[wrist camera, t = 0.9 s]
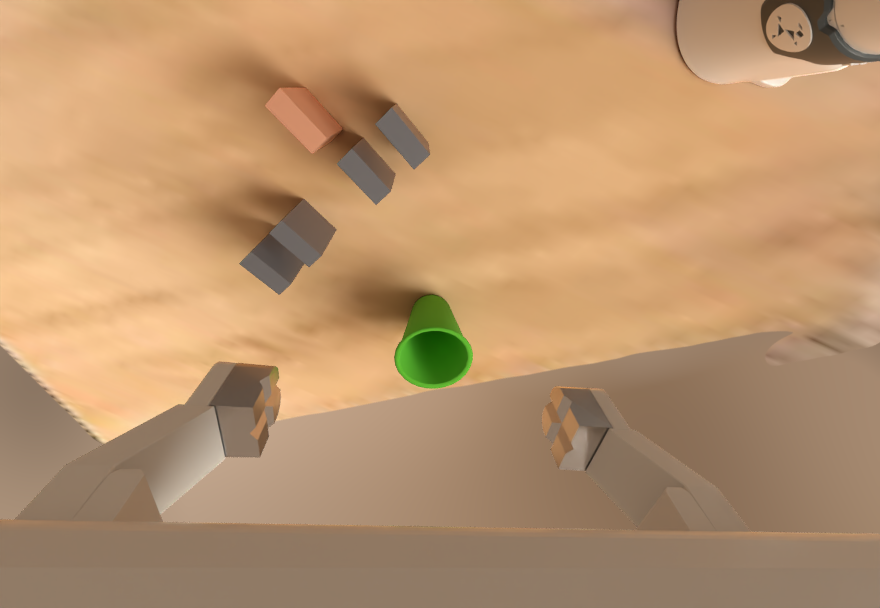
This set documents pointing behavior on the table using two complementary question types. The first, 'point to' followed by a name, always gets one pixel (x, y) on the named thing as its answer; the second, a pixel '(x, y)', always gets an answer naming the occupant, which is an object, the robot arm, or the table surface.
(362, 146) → the domino
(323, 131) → the domino
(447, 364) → the cup
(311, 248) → the domino
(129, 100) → the table surface
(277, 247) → the domino
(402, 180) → the table surface
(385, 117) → the domino
